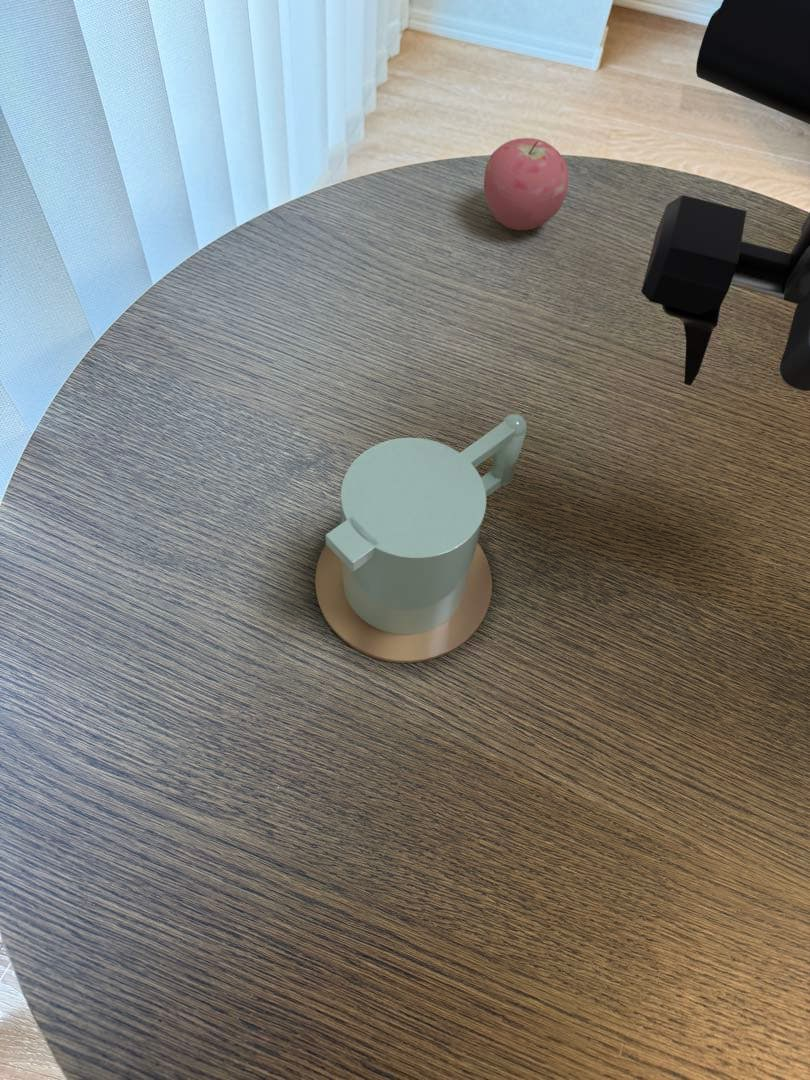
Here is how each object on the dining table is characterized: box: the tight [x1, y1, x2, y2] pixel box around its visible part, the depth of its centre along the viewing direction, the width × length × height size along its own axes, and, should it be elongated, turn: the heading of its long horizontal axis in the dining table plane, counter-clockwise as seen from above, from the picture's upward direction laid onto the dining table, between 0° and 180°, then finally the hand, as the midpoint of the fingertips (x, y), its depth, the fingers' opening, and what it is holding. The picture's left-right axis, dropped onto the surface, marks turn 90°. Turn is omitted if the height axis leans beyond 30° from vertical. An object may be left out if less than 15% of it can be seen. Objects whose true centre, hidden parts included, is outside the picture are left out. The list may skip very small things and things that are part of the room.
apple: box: [483, 137, 570, 231], centre depth 73 cm, size 7×7×8 cm
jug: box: [324, 413, 528, 635], centre depth 52 cm, size 15×8×10 cm, turn 132°
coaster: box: [314, 542, 493, 664], centre depth 56 cm, size 12×12×1 cm
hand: (764, 401), depth 49 cm, fingers open, 9 cm apart
